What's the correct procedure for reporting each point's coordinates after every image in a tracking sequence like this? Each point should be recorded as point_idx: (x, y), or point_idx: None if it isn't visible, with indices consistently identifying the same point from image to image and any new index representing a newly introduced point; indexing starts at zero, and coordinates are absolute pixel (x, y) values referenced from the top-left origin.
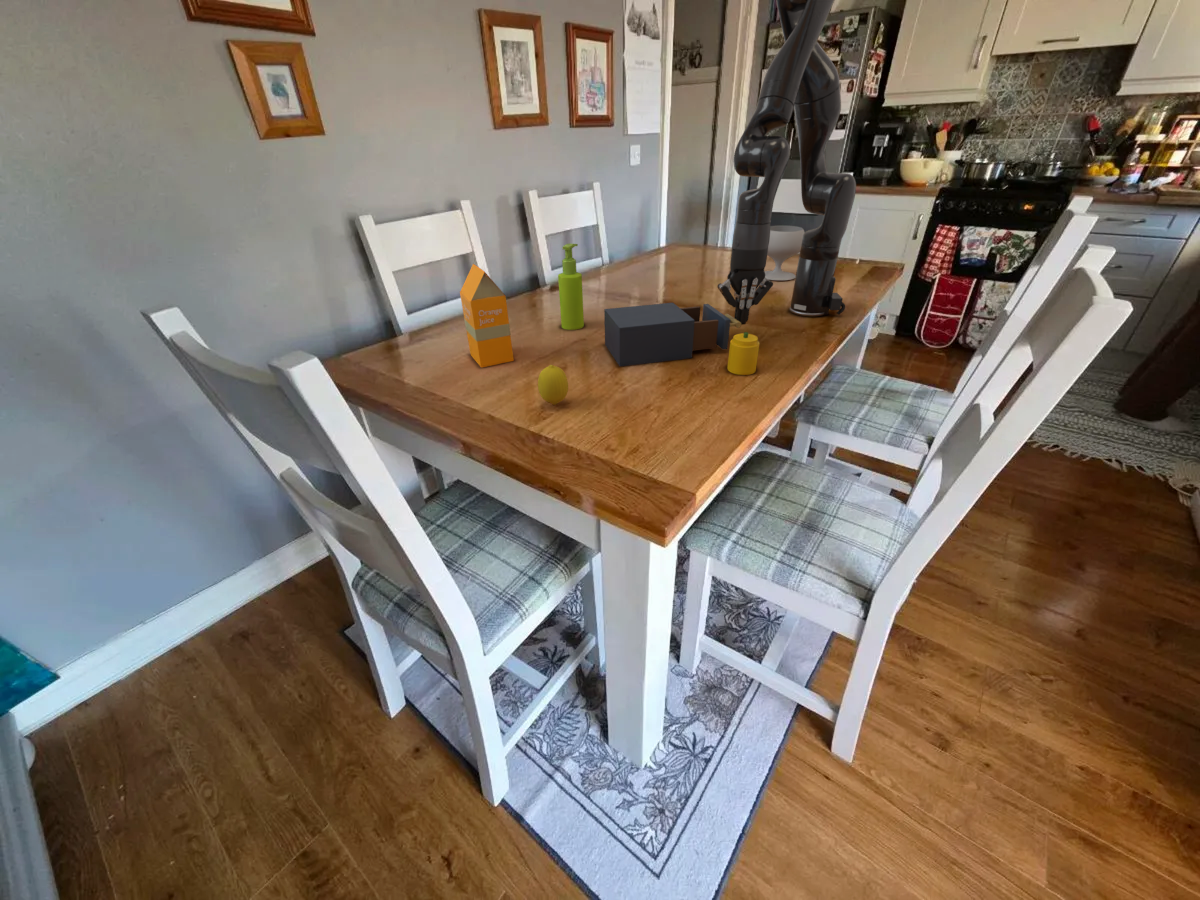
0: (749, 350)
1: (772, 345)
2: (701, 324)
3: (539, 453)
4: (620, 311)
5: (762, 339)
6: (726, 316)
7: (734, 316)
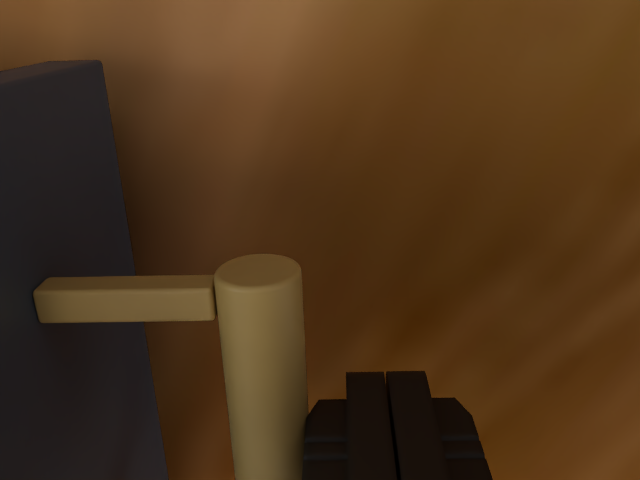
0: None
1: (594, 446)
2: None
3: None
4: None
5: (605, 315)
6: (224, 347)
7: (305, 436)
